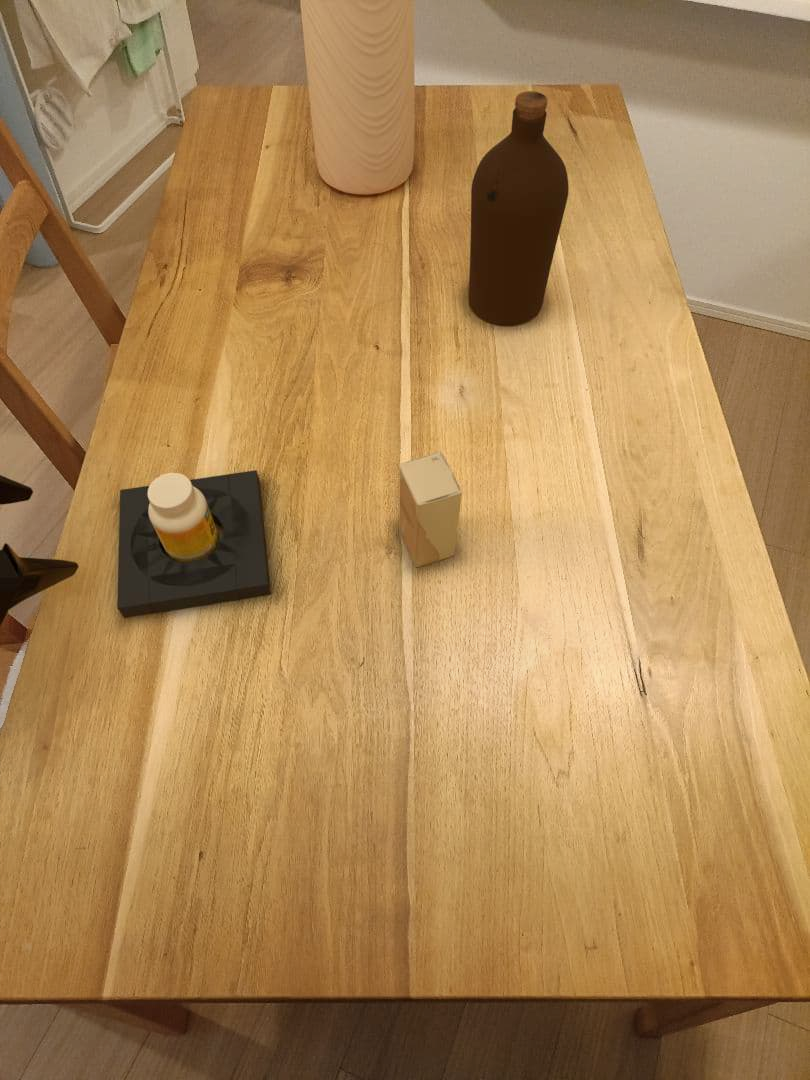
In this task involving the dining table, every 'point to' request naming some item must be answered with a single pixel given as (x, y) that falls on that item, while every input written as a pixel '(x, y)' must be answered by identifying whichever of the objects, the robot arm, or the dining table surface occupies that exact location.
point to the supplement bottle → (181, 518)
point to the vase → (361, 91)
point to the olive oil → (516, 218)
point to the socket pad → (213, 579)
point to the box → (428, 508)
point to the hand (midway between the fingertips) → (52, 530)
